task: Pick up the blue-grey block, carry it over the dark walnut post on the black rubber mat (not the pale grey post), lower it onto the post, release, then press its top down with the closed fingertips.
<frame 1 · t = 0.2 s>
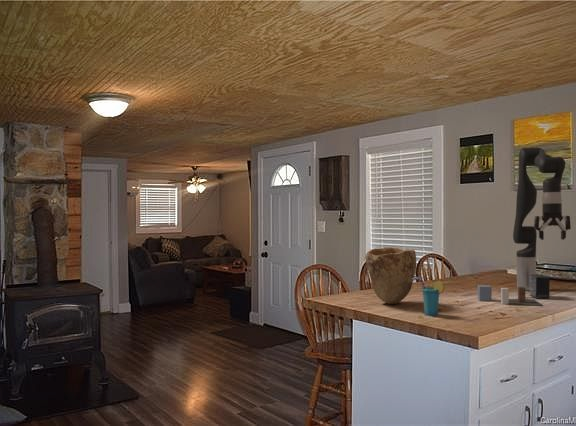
hand: (552, 239, 222), 29 cm above the worktop, fingers open, 8 cm apart
bowl: (391, 304, 230), on the worktop
cup: (429, 315, 206), on the worktop
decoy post: (504, 303, 227), on the worktop
blue-grey block: (484, 300, 237), on the worktop
small box: (539, 297, 242), on the worktop
post: (521, 302, 229), on the worktop
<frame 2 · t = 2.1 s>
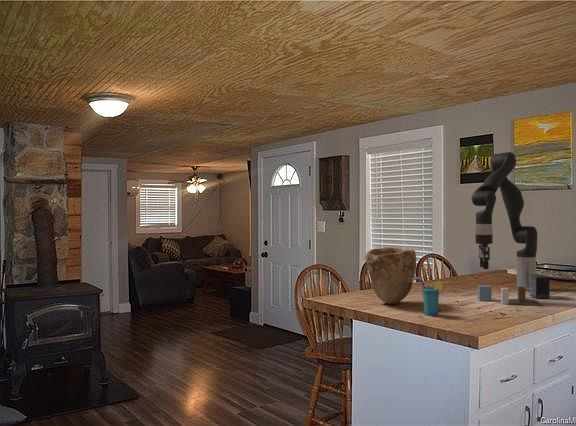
hand: (484, 268, 237), 15 cm above the worktop, fingers open, 8 cm apart
nothing on the worktop moved.
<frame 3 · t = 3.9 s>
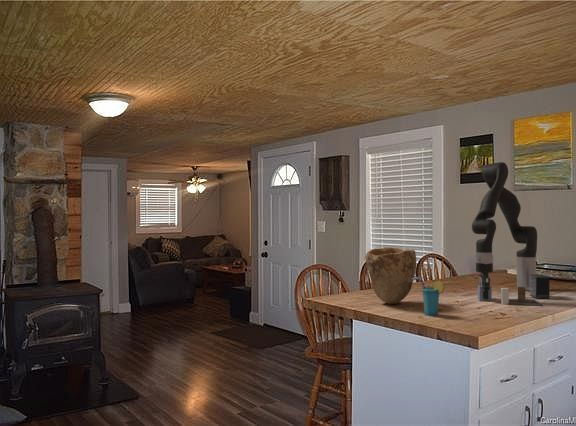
hand: (484, 297, 237), 1 cm above the worktop, fingers closed on blue-grey block, 5 cm apart
blue-grey block: (484, 300, 237), on the worktop, touching gripper
everything else where it was.
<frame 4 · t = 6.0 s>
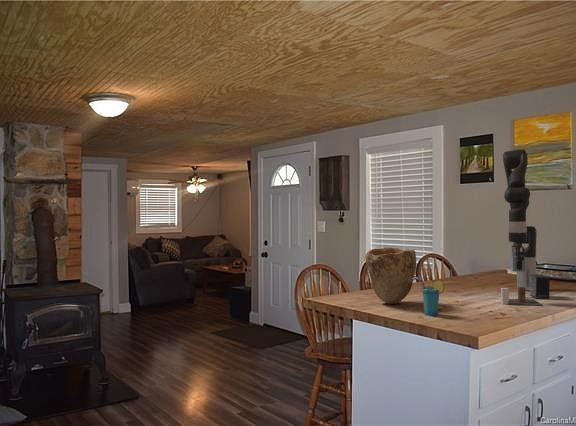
hand: (518, 268, 230), 15 cm above the worktop, fingers closed on blue-grey block, 5 cm apart
blue-grey block: (517, 270, 230), point 14 cm above the worktop, touching gripper
everything else where it was.
when the fingers open (3 cm above the worktop, at t = 8.5 s): blue-grey block stays where it is, resting on post.
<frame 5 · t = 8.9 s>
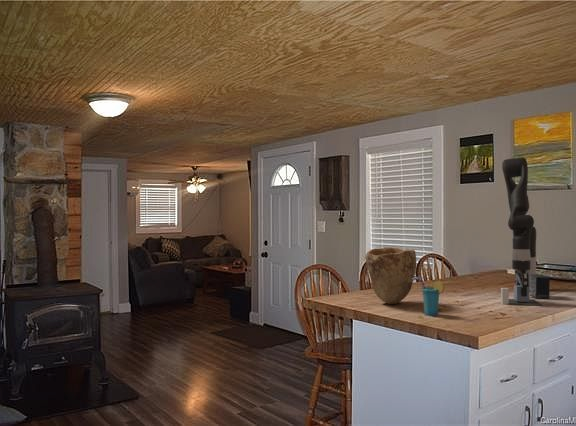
hand: (521, 294, 229), 4 cm above the worktop, fingers open, 8 cm apart
blue-grey block: (521, 300, 229), point 1 cm above the worktop, touching post
everything else where it was.
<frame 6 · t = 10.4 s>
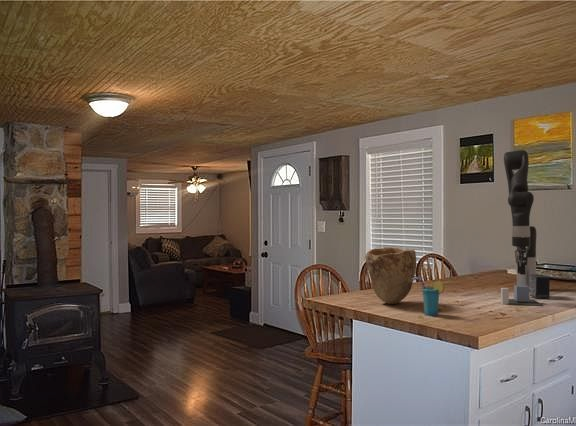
hand: (521, 273, 229), 13 cm above the worktop, fingers open, 3 cm apart
nothing on the worktop moved.
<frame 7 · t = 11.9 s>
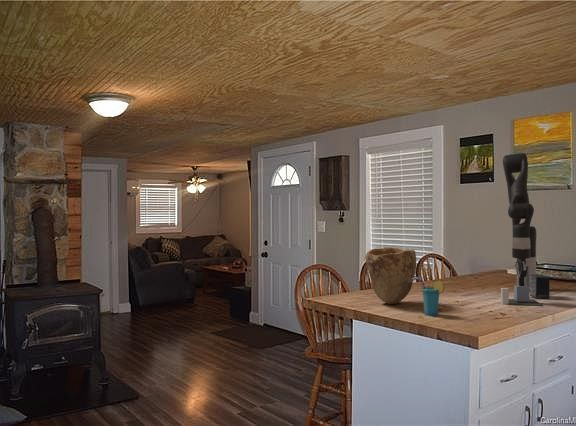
hand: (521, 285, 229), 8 cm above the worktop, fingers closed
nothing on the worktop moved.
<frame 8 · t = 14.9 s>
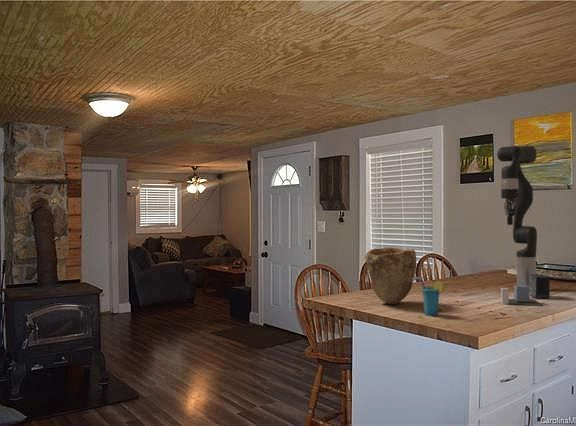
hand: (510, 224, 241), 35 cm above the worktop, fingers closed
nothing on the worktop moved.
at the end: blue-grey block 0.1 cm from the post (horizontally); blue-grey block point 1.0 cm above the worktop; the gripper is holding nothing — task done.
